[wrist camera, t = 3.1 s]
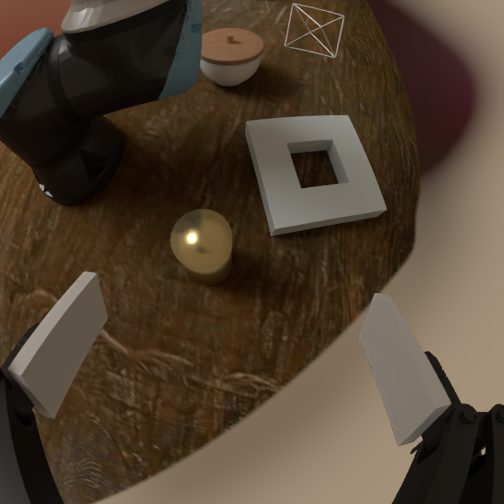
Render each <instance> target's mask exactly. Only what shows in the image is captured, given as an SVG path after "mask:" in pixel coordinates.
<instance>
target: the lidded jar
mask: <svg viewBox="0 0 504 504" xmlns="http://www.w3.org/2000/svg"><path fill="white" fill-rule="evenodd" d="M263 50H264V42H263V40H262V39H261V38H260V37H259V36H258V35H257V34H255V33H253V32H251V31H248V30H244V29H238V28H223V29H217V30H213V31H210V32H208V33H206V34H204V35H203V36H202V49H201V61H200V69H201V70H202V72H203V73H204V75H205V76H206V77H207V78H209V79H210V80H212V81H214V82H215V83H217V84H219V85H222V86H235V85H238V84H241V83H242V82H244V81H246V80H247V79H249V78H250V77H251V76H252V75H253V74H254V73H255V72H256V71H257V69H258V67H259V65H260V62H261V58H262V53H263Z"/></svg>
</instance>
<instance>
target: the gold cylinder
mask: <svg viewBox="0 0 504 504" xmlns="http://www.w3.org/2000/svg"><path fill="white" fill-rule="evenodd" d="M171 248H172V251H173V253H174V255H175V256H176V258H177V259H178V260H179V261H180V262H181V263H182V264H183V265H184V266H185V267H186V268H187V269H188V270H189V271H190V272H191V273H192V274H193V275H194V276H195V277H196V278H197V279H198V280H199V281H200V282H202V283H204V284H209V285H213V284H218V283H220V282H222V281H223V280H225V279H226V278H227V276H228V275H229V273H230V271H231V267H232V231H231V228H230V226H229V224H228V222H227V221H226V219H225V218H224V217H223V216H221V215H220V214H219V213H217V212H215V211H212V210H208V209H197V210H193V211H190V212H188V213H186V214H185V215H183V216H182V217H181V218H180V219H179V220H178V221H177V222H176V224H175V225H174V227H173V230H172V233H171Z"/></svg>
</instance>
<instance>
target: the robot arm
mask: <svg viewBox="0 0 504 504" xmlns="http://www.w3.org/2000/svg"><path fill="white" fill-rule="evenodd" d="M70 3H71V7H70V9H69V11H68V13H67V15H66V16H65V19H64V20H63V22H62V25H61V27H62V31H63V34H60V35H58V36H56V37H54V36H53V35H54V33H53V31H51V30H50V29H49V28H46V27H45V28H42V29H38V30H36V31H34V32H32V33H31V34H29V35H28V36H27V37H25V38H24V39H23V40H21V41H20V42H19V43H18V44H17V45H16V46H14V47H13V48H12V49H11V50H10V51H9V52H8V53H7V54H6V55H5V56H4V57H3V58H2V59H1V61H0V140H1V141H2V142H3V143H4V144H5V145H6V146H7V147H8V148H10V149H11V150H12V151H13V152H14V153H15V154H16V155H18V156H19V157H20V158H21V159H22V160H23V161H25V162H26V163H27V164H28V165H29V166H30V167H31V168H32V170H33V173H34V175H35V177H36V179H37V181H38V183H39V185H40V187H41V189H42V191H43V192H44V193H45V194H46V195H47V196H48V197H49V198H50V199H52V200H53V201H55V202H56V203H58V204H62V205H74V204H78V203H81V202H83V201H85V200H87V199H89V198H91V197H92V196H94V195H95V194H96V193H97V192H99V191H100V190H101V189H102V188H103V187H104V186H105V185H106V184H107V183H108V181H109V180H110V179H111V177H112V176H113V174H114V173H115V171H116V169H117V167H118V165H119V162H120V160H121V156H122V150H123V143H122V138H121V135H120V133H119V132H118V130H117V128H116V126H115V125H114V124H113V122H112V121H110V120H109V119H108V118H106V117H104V116H103V115H105V114H108V113H111V112H115V111H118V110H122V109H125V108H129V107H132V106H136V105H140V104H144V103H148V102H152V101H156V102H158V101H160V100H162V99H163V98H166V97H170V96H174V95H178V94H182V93H185V92H187V91H188V90H190V89H191V88H192V87H193V86H194V85H195V83H196V81H197V78H198V75H199V69H200V61H201V49H202V32H201V29H202V4H201V0H70ZM107 319H108V316H107V313H106V309H105V305H104V301H103V298H102V294H101V289H100V285H99V281H98V276H97V273H92V272H83V274H82V275H81V276H80V277H79V278H78V279H77V280H76V281H75V282H74V284H73V285H72V286H71V287H70V288H69V289H68V290H67V292H66V293H65V294H64V295H63V296H62V297H61V299H60V300H59V301H58V302H57V303H56V305H55V306H54V307H53V308H52V309H51V311H50V312H49V313H48V314H47V316H46V317H45V318H44V319H43V321H42V322H41V323H36V324H35V325H34V326H32V327H31V328H30V329H28V331H27V332H26V333H25V335H24V336H23V339H21V340H20V341H19V343H18V345H16V347H15V348H14V349H13V351H12V352H11V354H10V355H9V357H8V358H7V359H6V361H5V362H4V364H3V365H2V367H1V368H0V504H64V503H63V500H62V498H61V496H60V494H59V491H58V489H57V486H56V484H55V481H54V479H53V476H52V474H51V471H50V468H49V465H48V462H47V459H46V456H45V453H44V450H43V446H42V443H41V439H40V436H39V432H38V428H37V424H36V420H35V415H34V413H33V411H32V408H33V406H35V407H36V408H37V410H38V411H39V412H40V413H41V414H43V415H45V416H48V417H50V418H52V419H55V416H56V414H57V412H58V410H59V408H60V406H61V403H62V401H63V399H64V397H65V395H66V393H67V391H68V389H69V387H70V385H71V383H72V381H73V379H74V377H75V375H76V374H77V372H78V370H79V368H80V366H81V364H82V362H83V361H84V359H85V357H86V355H87V353H88V351H89V350H90V348H91V346H92V344H93V343H94V341H95V339H96V337H97V336H98V334H99V332H100V331H101V329H102V327H103V325H104V324H105V322H106V321H107ZM358 337H359V340H360V342H361V345H362V347H363V350H364V352H365V355H366V357H367V360H368V362H369V365H370V368H371V370H372V373H373V375H374V378H375V381H376V383H377V386H378V389H379V392H380V394H381V397H382V400H383V403H384V405H385V408H386V411H387V414H388V417H389V420H390V423H391V426H392V429H393V432H394V435H395V439H396V442H397V445H398V446H401V445H404V444H408V443H411V442H414V441H415V440H416V439H417V438H418V437H419V436H420V435H421V436H422V438H423V441H421V442H420V443H419V444H418V445H417V446H416V447H415V448H413V449H412V451H411V452H410V453H411V454H412V453H414V452H415V451H416V450H417V452H416V454H415V457H414V460H413V462H412V464H411V466H410V468H409V471H408V473H407V475H406V477H405V479H404V481H403V483H402V485H401V487H400V489H399V491H398V493H397V495H396V497H395V499H394V501H393V502H392V504H504V405H502V404H496V405H495V406H494V407H493V408H492V409H491V410H490V411H489V412H477V411H476V410H475V409H474V408H473V407H472V406H470V405H469V404H462V403H461V402H460V400H459V398H458V396H457V394H456V392H455V390H454V388H453V387H452V385H451V383H450V381H449V379H448V378H447V377H446V374H445V372H444V370H442V367H441V365H440V363H439V361H438V360H437V358H436V357H435V356H433V355H432V354H431V353H430V352H429V351H427V352H424V351H423V349H422V347H421V346H420V344H419V342H418V341H417V339H416V337H415V336H414V334H413V332H412V331H411V329H410V327H409V326H408V324H407V323H406V321H405V319H404V318H403V316H402V315H401V313H400V311H399V310H398V308H397V307H396V305H395V304H394V302H393V300H392V299H391V297H390V296H389V295H388V294H383V293H375V294H374V297H373V299H372V302H371V305H370V308H369V310H368V313H367V315H366V318H365V321H364V323H363V326H362V328H361V331H360V333H359V335H358ZM484 448H485V449H486V450H485V454H484V455H482V453H481V450H482V449H484Z"/></svg>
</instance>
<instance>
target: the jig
mask: <svg viewBox="0 0 504 504" xmlns="http://www.w3.org/2000/svg"><path fill="white" fill-rule="evenodd" d="M245 135H246V139H247V143H248V146H249V150H250V154H251V158H252V162H253V165H254V169H255V173H256V177H257V181H258V185H259V189H260V193H261V197H262V201H263V205H264V209H265V213H266V217H267V221H268V225H269V229H270V233H271V236H275V235H280V234H285V233H290V232H296V231H301V230H306V229H312V228H317V227H323V226H328V225H334V224H339V223H345V222H350V221H356V220H361V219H367V218H372V217H377V216H379V215H380V214H382V213H383V212H384V211H386V210H387V208H386V205H385V202H384V199H383V196H382V194H381V191H380V188H379V186H378V183H377V180H376V178H375V175H374V173H373V170H372V168H371V165H370V163H369V160H368V158H367V156H366V153H365V151H364V149H363V146H362V144H361V142H360V140H359V137H358V135H357V133H356V131H355V129H354V127H353V125H352V123H351V121H350V119H349V117H348V116H342V115H341V116H302V117H286V118H273V119H262V120H253V121H246V130H245ZM324 150H327V153H328V156H329V158H330V161H331V164H332V166H333V169H334V172H335V174H336V177H337V180H338V183H339V184H333V185H325V186H318V187H310V188H303V189H301V187H300V184H299V180H298V177H297V174H296V171H295V168H294V165H293V161H292V158H291V155H290V154H291V153H301V152H312V151H324Z"/></svg>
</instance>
